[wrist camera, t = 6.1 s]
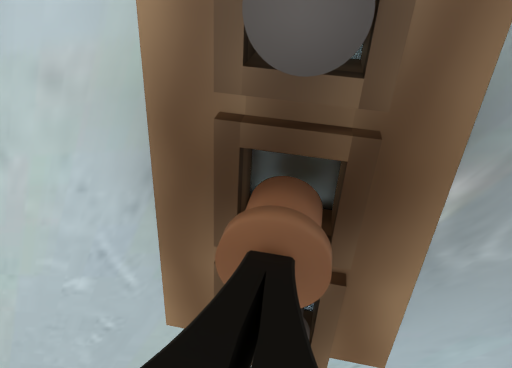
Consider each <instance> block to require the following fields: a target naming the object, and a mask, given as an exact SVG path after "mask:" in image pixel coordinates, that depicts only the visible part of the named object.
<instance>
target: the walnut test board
mask: <svg viewBox="0 0 512 368" xmlns="http://www.w3.org/2000/svg"><path fill="white" fill-rule="evenodd" d="M242 3H243V0H136V5H137V15H138V26H139V37H140V47H141V58H142V69H143V79H144V90H145V101H146V111H147V122H148V133H149V143H150V154H151V165H152V175H153V186H154V197H155V207H156V218H157V229H158V239H159V250H160V261H161V271H162V282H163V293H164V303H165V314H166V325H170V326H175V327H180V328H186V327H187V326H188V325H189V324H190V323H191V322H192V321H193V320H194V319H195V318H196V317H197V316H198V314H199V313H200V312H201V311H202V310H203V309H204V308H205V307H206V306H207V305H208V304H209V303H210V301H211V300H212V299H213V298H214V297H215V296H216V294H217V293H218V292H219V291H220V289H221V288H222V287H223V286H224V283H223V282H222V280H221V279H220V277H219V275H218V272H217V269H216V265H215V253H216V250H217V247H218V244H219V242H220V240H221V237H222V235H223V233H224V230H225V228H226V226H227V225H228V224H229V222H230V221H231V220H232V219H233V218H234V217H235V216H237V215H238V214H239V213H241V212H243V211H245V210H246V207H247V205H248V202H249V199H250V181H251V163H252V149H256V150H263V151H271V152H278V153H286V154H293V155H301V156H308V157H316V158H323V159H331V160H338V161H341V165H340V170H339V175H338V181H337V186H336V191H335V197H334V202H333V207H332V210H327V209H323V212H322V226H321V228H322V229H323V231H324V232H325V233H326V235H327V237H328V239H329V241H330V244H331V248H332V275H331V281H330V284H329V286H328V288H327V290H326V292H325V293H324V294H323V295H322V296H321V297H320V298H319V299H318V300H317V301H315V302H314V307H313V312H312V311H307V310H304V312H303V317H304V318H305V320H306V321H307V323H308V325H309V329H310V337H309V342H310V345H311V348H312V351H313V354H314V357H315V360H316V363H317V366H318V368H327V365H328V361H329V358H334V359H339V360H344V361H349V362H354V363H359V364H363V365H368V366H373V367H378V368H385V365H386V363H387V360H388V357H389V354H390V352H391V349H392V346H393V343H394V341H395V338H396V335H397V333H398V330H399V327H400V324H401V322H402V319H403V316H404V314H405V311H406V308H407V305H408V303H409V300H410V297H411V294H412V292H413V289H414V286H415V284H416V281H417V278H418V275H419V273H420V270H421V267H422V265H423V262H424V259H425V256H426V254H427V251H428V248H429V245H430V243H431V240H432V237H433V235H434V232H435V229H436V226H437V224H438V221H439V218H440V216H441V213H442V210H443V207H444V205H445V202H446V199H447V196H448V194H449V191H450V188H451V186H452V183H453V180H454V177H455V175H456V172H457V169H458V167H459V164H460V161H461V158H462V156H463V153H464V150H465V147H466V145H467V142H468V139H469V137H470V134H471V131H472V128H473V126H474V123H475V120H476V118H477V115H478V112H479V109H480V107H481V104H482V101H483V98H484V96H485V93H486V90H487V88H488V85H489V82H490V79H491V77H492V74H493V71H494V69H495V66H496V63H497V60H498V58H499V55H500V52H501V49H502V47H503V44H504V41H505V39H506V36H507V33H508V30H509V28H510V25H511V22H512V0H375V11H374V17H373V21H372V25H371V28H370V30H369V33H368V35H367V37H366V39H365V41H364V44H363V49H362V54H361V59H360V60H359V59H349V60H348V61H347V62H346V63H344V64H343V65H341V66H340V67H338V68H336V69H334V70H332V71H330V72H328V73H325V74H321V75H317V76H309V77H303V76H294V75H290V74H287V73H284V72H281V71H279V70H277V69H275V68H274V67H272V66H271V65H269V64H268V63H267V62H266V61H264V60H263V59H262V57H261V56H260V55H259V54H258V53H257V52H256V50H255V49H254V47H253V46H252V44H251V42H250V40H249V38H248V35H247V33H246V30H245V26H244V21H243V14H242ZM251 365H252V364H251Z"/></svg>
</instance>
